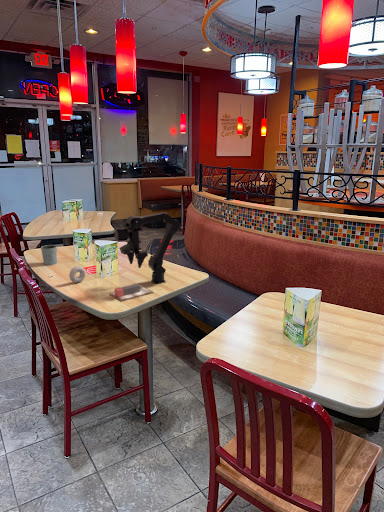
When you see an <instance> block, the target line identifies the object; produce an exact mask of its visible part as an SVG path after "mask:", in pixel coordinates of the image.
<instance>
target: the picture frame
mask: <svg viewBox="0 0 384 512" xmlns="http://www.w3.org/2000/svg"><path fill="white" fill-rule="evenodd" d="M141 286H142V289H140V292H137V293H133V294H130V295H126V296H122V297H117V296H115V291H114V292H110V293H109V295H110V296H112V297H114V298H115V299H116V300H117V301H119V302H124V301H129V300H132V299H135V298H139V297H144V296H146V295H151V294H154V293H155V292H154V291H152V290H150V289H148V288H147V287H145V286H143V285H141Z"/></svg>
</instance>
